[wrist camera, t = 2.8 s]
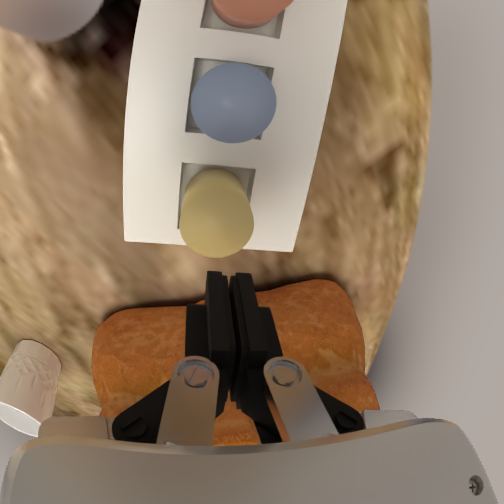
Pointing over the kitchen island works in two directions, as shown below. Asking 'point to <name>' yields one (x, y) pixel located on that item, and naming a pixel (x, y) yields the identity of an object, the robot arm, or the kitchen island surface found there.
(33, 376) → the white cup
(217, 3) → the rust button
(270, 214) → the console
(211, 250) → the mustard button
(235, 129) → the slate button
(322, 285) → the bread
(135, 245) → the kitchen island surface
